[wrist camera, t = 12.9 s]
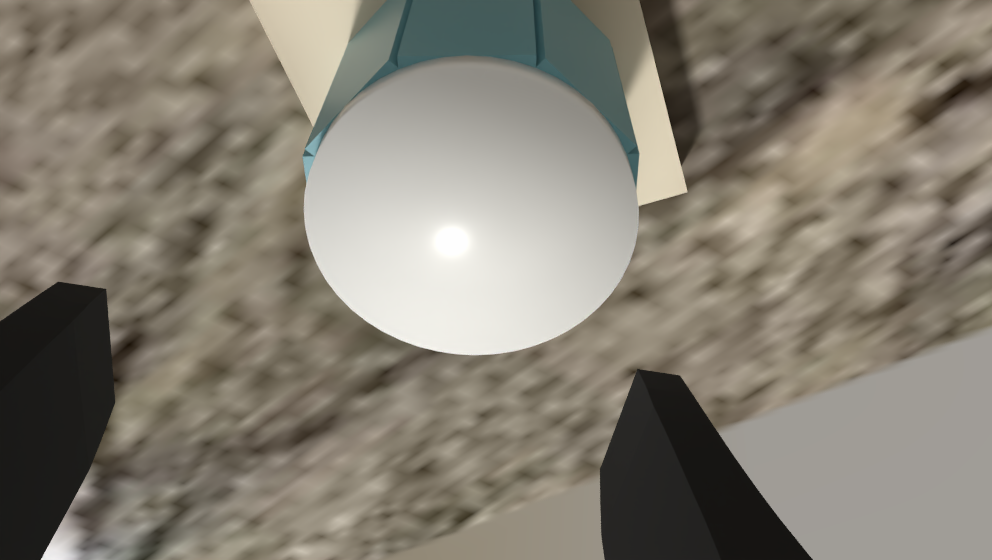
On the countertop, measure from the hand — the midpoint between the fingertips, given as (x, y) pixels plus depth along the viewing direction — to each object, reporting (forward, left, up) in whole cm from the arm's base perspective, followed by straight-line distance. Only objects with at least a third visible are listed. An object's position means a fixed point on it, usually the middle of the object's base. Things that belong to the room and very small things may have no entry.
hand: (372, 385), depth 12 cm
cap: (+2, 0, -8) cm, 8 cm away
